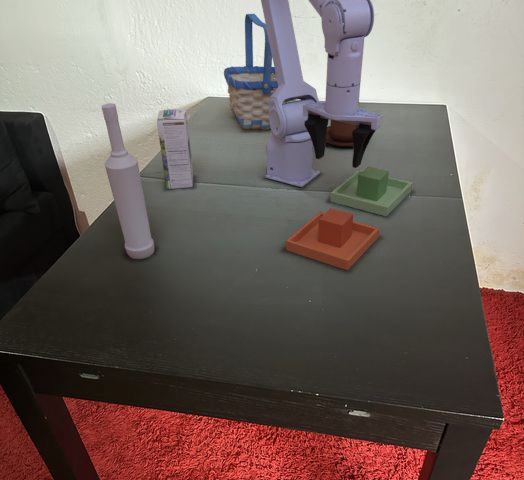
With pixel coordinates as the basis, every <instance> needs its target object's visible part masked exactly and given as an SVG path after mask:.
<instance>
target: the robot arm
mask: <svg viewBox="0 0 524 480" xmlns="http://www.w3.org/2000/svg"><path fill="white" fill-rule="evenodd" d="M308 2H309V4H311V6H312V8H313V9H314V10H315V11H316V13H317V14H318V16H319V17H320V18H321V28H322V34H323V38H324V51H325V53H326V54H327V57H326V59H327V62H326V81H325V98H324V99H325V102H320V99H319V97H318V92H317V89H316V88H315V87H314V86H312V85H311V84H309V83H308V82H307V81H305V80H304V76H303V71H302V66H301V60H300V55H299V51H298V44H297V40H296V33H295V28H294V24H293V18H292V17H293V16H292V13H291V7H290V1H289V0H260V3H261V7H262V8H261V9H262V12H263V13H262V14H263V19H264V23H265V24H266V28H267V33H268V38H269V43H270V48H271V53H272V64H273V67H274V68H275V73H276V78H277V83H278V88H277V89H276V91H275V92H274V93H273V94H272V96H271V97H270V99H269V101H268V106H269V123H270V127H271V129H270V131H271V132H272V133H271V134H270V135H269V137H268V140H267V142H266V174H265V176H264V177H265V179H269V180H273V181H277V182H280V183H283V184H288V185H292V186H295V187H299V188H303V187H305V186H306V185H307V184H308V183H309V182H311V181H312V180H313V179H315V178H316V177H317V176H319V175H320V174H321V171H320V170H316V169H313V163H314V162H313V158H314V156H315V159H317V160H320V159H322V158H323V157H325V152H326V142H325V140H326V131H327V127H328V126H329V120H330V121H331V120H335V121H340V122H345V123H350V124H356V125H359V127H357V128H356V129H354V130H353V131H352V135H353V146H352V147H353V151H352V162H351V163H352V164H351V165H352V168H353V169H357V168H358V167H360V165H362V161H363V158H364V155H365V152H366V149H367V148H368V146H369V143H370V141H371V139H372V137H373V136H374V134H375V132H376V131H377V130H378V129H380V128H381V127H382V121H383V114H379V113H376V112H372V111H370V110H367V109H364V108H362V107H358V105H359V106H360V95H361V93H360V92H361V83H362V72H363V71H362V70H363V59H364V50H365V49H364V47H365V38H366V37H368V36H369V35H370V34H371V33H372V29H373V27H374V23H375V9H374V5H373V2H372V0H308ZM287 101H289V102H287ZM283 102H287V103H285V104H282V103H283Z"/></svg>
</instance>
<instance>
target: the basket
mask: <svg viewBox="0 0 524 480" xmlns="http://www.w3.org/2000/svg"><path fill="white" fill-rule="evenodd" d="M253 24H254V25H256V26H258V27H260V28H262V29H263V32H264V50H263V51H264V53H263V66H259V65H255V66H254V49H253V48H254V45H253V44H254V43H253V41H254V37H253ZM244 47H245V48H244V49H245V54H244V55H245V65H243V66H230V67H225V68H224V70H223V76H224V80H225V82H226V85H227V94H229V95H228V96H229V97H228V99H229V102H230V103H229V106H230V109H231V113H232V114H233V115H234V117H236V121H237V123H238V124H240V125H241V127H242V129H243V130H249V129H260V130H263V131H264V130H265V131H268V130H271V127H270V123H269V106H268V101H269V99H270V97H271V96H272V94H273V93H274V92H275V91H276V89H277V88H278V83H277V78H276V73H275V68H274V66H273V58H272V53H271V48H270V43H269V38H268V33H267V28H266V23H265V22H263V21H262V20H261V19H260V18H259V17H258V16H257V15H256V14H255V13H246V14H245V16H244ZM285 103H290V101H287V102H283V103H282V104H285Z"/></svg>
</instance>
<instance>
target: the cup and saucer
mask: <svg viewBox="0 0 524 480" xmlns="http://www.w3.org/2000/svg"><path fill="white" fill-rule="evenodd" d="M357 127H359V125H356V124H350V123H345V122H340V121H335V120H330V125H327V131H326V140H325V143H327V144H329V145H332V146H336V147H354V146H353V135H352V131H353V130H354V129H356V128H357Z"/></svg>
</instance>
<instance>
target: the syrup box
mask: <svg viewBox="0 0 524 480" xmlns="http://www.w3.org/2000/svg"><path fill="white" fill-rule="evenodd" d="M187 115H188V113H187V109H182V108H181V109H180V108H170V109H161V110H158V115H157V119H156V127H157V132H158V139H159V140H158V141H159V147H160V152H161V153H160V154H161V160H162V166H163V167H162V168H163V173H164V179H165V187H166V189H167V190H174V189H175V190H176V189H186V188H188V189H189V188H194V167H193V158H192V151H191V150H192V149H191V141H190V132H189V131H190V130H189V124H188V116H187Z"/></svg>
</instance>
